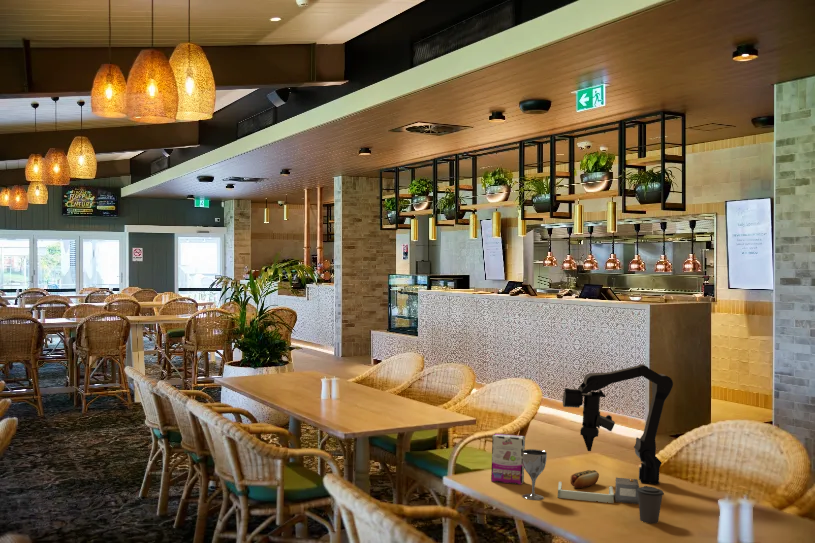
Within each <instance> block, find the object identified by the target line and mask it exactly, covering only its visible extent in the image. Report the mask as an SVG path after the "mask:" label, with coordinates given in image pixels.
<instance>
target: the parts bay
mask: <svg viewBox="0 0 815 543" xmlns="http://www.w3.org/2000/svg"><path fill="white" fill-rule="evenodd" d="M557 485H558V487H557V498H558V499H567V500H568V499H569V500H579V501H587V502H588V501H589V502H596V501H598V503H607V502H608V503H609V504H614V502H615V496H614V488H613V486H609V487H608V493H601V492H600V493H599V492H589V491H580V490H577V491H576V490H570V489H569V490H567V489H562V485H563V482H562V481H558V484H557ZM608 503H607V504H608Z"/></svg>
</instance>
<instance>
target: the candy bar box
mask: <svg viewBox="0 0 815 543" xmlns="http://www.w3.org/2000/svg"><path fill="white" fill-rule="evenodd" d="M491 439H492V442H491V443H492V444H491V470H490V471H491V476H490V479H491V480H490V481H491V482H494V483H502V484H504V483H505V484H509V485H510V484H511V485H522V484H523V483H524V481H525V469H524V466H523V450H526V448H525V447H526V446H525V445H526V436H525V435H517V434H516V435H515V434H504V433H494V434H493V435H492V438H491Z"/></svg>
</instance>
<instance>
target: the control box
mask: <svg viewBox="0 0 815 543" xmlns="http://www.w3.org/2000/svg"><path fill="white" fill-rule="evenodd" d="M638 480H639V479H637V478H636V479H635V478H625V477H624V478H623V477H615V491H614V492H613V494H614V502H615V503H621V502H622V504H623V503H624V504H632V503H633V505H639V499H638V492H637V489H638V488H639V487H640V483H639V481H638Z"/></svg>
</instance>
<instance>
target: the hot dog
mask: <svg viewBox="0 0 815 543" xmlns="http://www.w3.org/2000/svg"><path fill="white" fill-rule="evenodd" d="M599 476H600V474H599V472H598V471H596V469H594V470H591V469H588V470H583V471H579V472H575V473H573V474H572V475H570V484H571V486H572V487H574V488H576V489H580V488H587V487H591V486H593V485H596V483H598V481H599Z"/></svg>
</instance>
